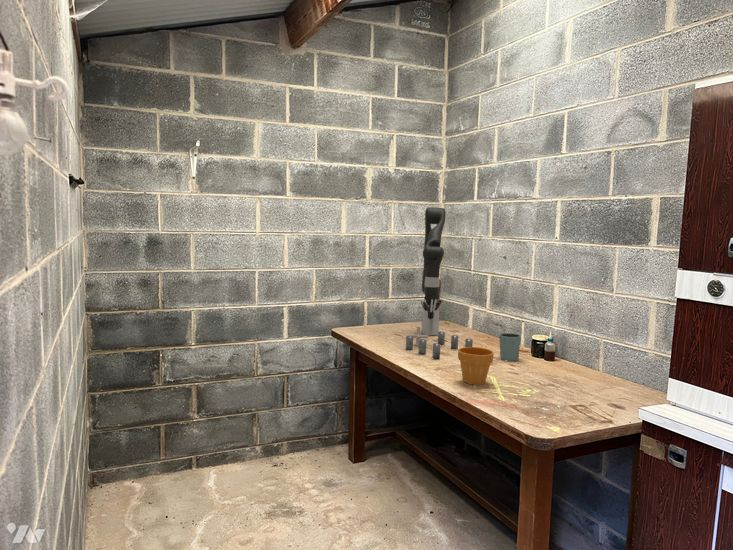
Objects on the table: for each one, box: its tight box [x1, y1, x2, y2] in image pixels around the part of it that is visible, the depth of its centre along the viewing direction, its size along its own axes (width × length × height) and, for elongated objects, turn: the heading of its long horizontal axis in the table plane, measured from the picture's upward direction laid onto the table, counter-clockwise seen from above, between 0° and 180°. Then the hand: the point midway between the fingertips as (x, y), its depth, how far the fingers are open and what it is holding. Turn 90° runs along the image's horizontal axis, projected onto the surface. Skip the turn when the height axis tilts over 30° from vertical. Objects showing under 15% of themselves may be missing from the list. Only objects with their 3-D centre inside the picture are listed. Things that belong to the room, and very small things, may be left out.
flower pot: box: [457, 346, 494, 385], centre depth 215 cm, size 14×14×13 cm
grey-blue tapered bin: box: [498, 332, 522, 362], centre depth 254 cm, size 10×10×12 cm
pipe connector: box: [408, 326, 429, 347], centre depth 277 cm, size 10×10×10 cm
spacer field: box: [405, 331, 474, 360], centre depth 266 cm, size 24×26×7 cm
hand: (430, 318), depth 270 cm, fingers closed
